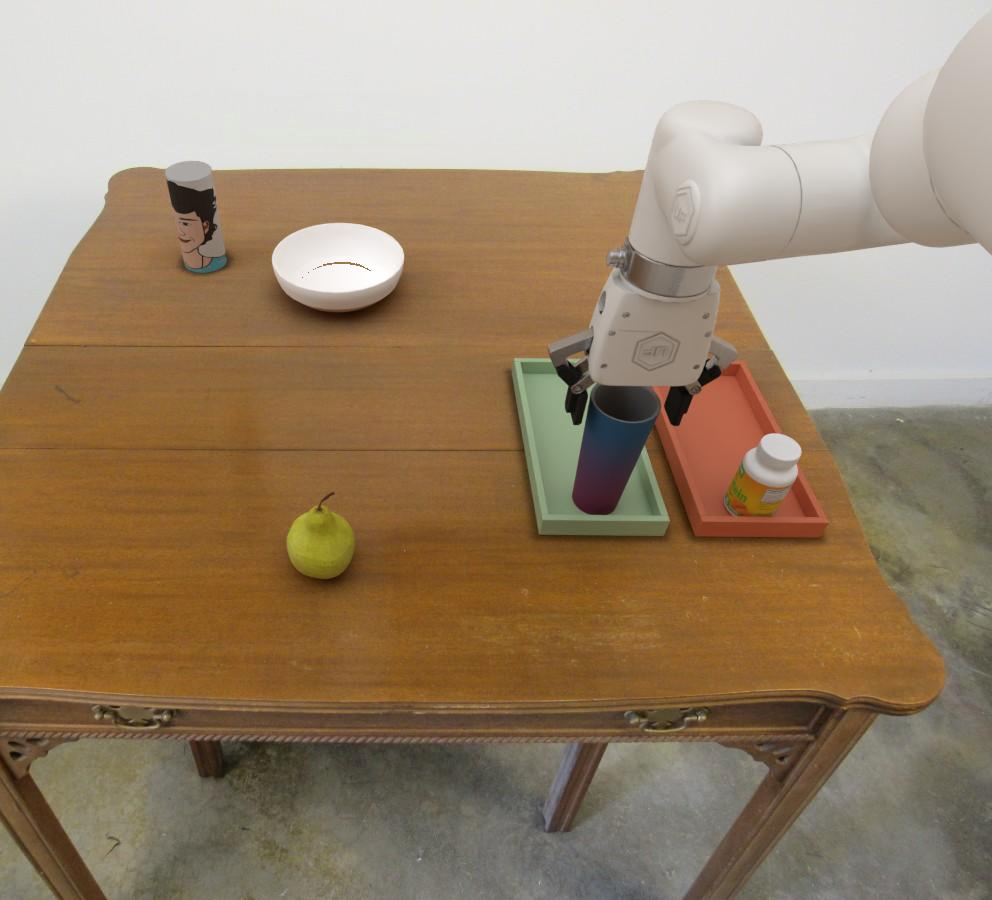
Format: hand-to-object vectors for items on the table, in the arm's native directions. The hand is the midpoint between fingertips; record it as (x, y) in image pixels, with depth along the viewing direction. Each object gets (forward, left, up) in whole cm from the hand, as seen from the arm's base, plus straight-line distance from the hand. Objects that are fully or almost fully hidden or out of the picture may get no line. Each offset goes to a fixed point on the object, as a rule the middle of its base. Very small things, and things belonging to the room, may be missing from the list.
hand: (622, 416), depth 74 cm
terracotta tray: (+9, -17, -14) cm, 24 cm away
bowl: (+42, +31, -14) cm, 54 cm away
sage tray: (+9, 0, -14) cm, 17 cm away
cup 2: (0, 0, -13) cm, 13 cm away
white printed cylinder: (+50, +53, -14) cm, 74 cm away
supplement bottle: (-1, -17, -13) cm, 21 cm away
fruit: (-9, +30, -14) cm, 34 cm away
